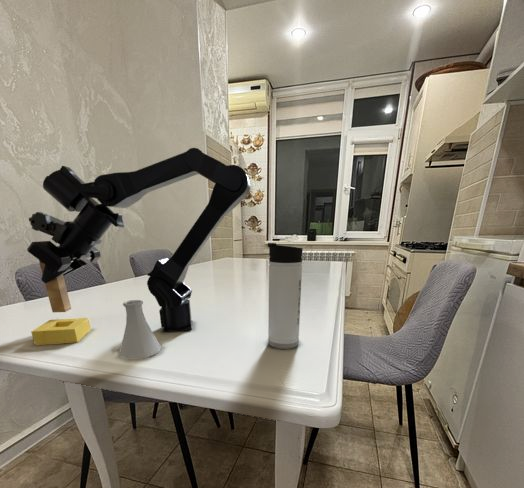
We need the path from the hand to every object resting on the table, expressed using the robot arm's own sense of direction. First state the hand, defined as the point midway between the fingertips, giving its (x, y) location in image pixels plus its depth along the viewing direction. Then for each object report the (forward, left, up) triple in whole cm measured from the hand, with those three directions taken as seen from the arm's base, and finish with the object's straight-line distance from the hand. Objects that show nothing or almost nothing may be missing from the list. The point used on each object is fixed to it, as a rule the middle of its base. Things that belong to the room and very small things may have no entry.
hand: (47, 280), depth 65 cm
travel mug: (-50, +20, -12) cm, 55 cm away
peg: (-1, 0, -7) cm, 7 cm away
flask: (-22, +19, -12) cm, 31 cm away
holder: (-4, +7, -11) cm, 14 cm away
